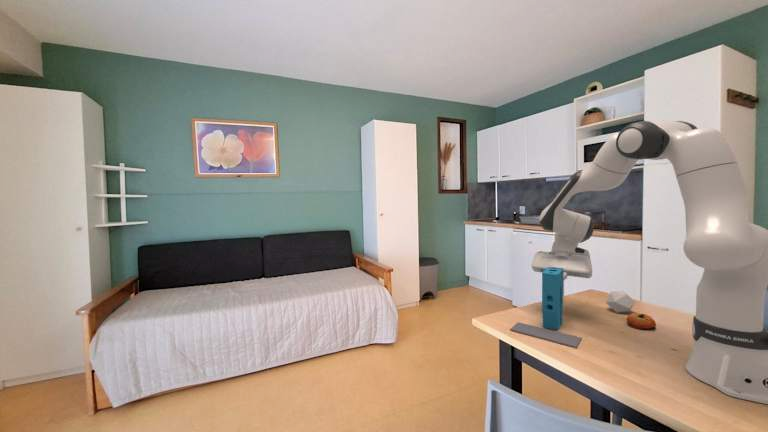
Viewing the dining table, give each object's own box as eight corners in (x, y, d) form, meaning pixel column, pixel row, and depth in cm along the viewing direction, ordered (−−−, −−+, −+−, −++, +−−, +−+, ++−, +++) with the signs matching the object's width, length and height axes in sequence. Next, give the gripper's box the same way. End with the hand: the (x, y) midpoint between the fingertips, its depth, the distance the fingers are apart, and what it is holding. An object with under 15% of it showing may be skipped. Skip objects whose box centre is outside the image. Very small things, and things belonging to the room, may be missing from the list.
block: (548, 318, 116) (548, 266, 115) (563, 321, 113) (563, 268, 112) (541, 328, 107) (541, 272, 106) (557, 332, 104) (557, 274, 103)
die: (635, 318, 116) (642, 296, 118) (613, 306, 117) (620, 284, 120) (619, 318, 123) (626, 297, 126) (599, 307, 125) (606, 286, 127)
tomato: (621, 322, 108) (629, 305, 110) (624, 330, 112) (631, 313, 114) (650, 333, 102) (658, 314, 103) (651, 341, 105) (659, 323, 107)
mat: (581, 339, 99) (581, 337, 99) (576, 348, 93) (576, 346, 93) (517, 323, 112) (517, 322, 112) (510, 330, 106) (510, 329, 106)
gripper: (533, 246, 126) (526, 274, 119) (593, 250, 112) (588, 282, 105) (537, 255, 129) (529, 283, 122) (595, 260, 115) (590, 292, 109)
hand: (557, 283), depth 114 cm, fingers closed
